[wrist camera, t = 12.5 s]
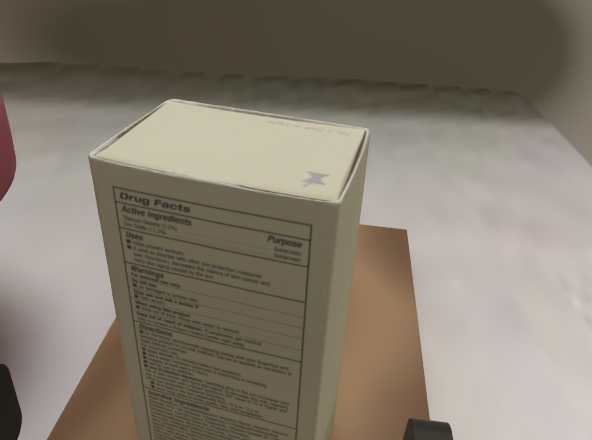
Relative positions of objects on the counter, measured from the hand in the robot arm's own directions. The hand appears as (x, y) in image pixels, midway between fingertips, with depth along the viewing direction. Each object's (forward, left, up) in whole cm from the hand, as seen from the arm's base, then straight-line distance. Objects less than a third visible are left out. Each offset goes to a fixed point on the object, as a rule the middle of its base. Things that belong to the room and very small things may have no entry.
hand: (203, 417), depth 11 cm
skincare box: (0, +6, -9) cm, 10 cm away
